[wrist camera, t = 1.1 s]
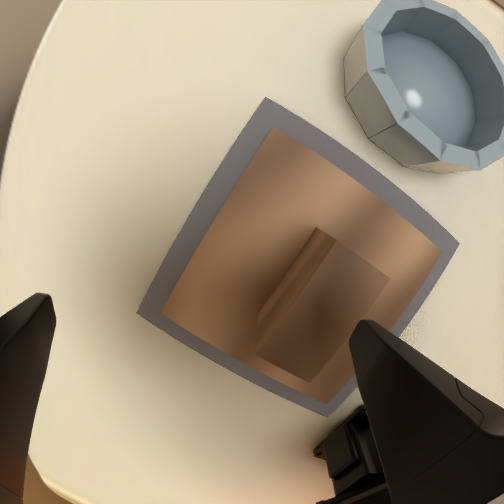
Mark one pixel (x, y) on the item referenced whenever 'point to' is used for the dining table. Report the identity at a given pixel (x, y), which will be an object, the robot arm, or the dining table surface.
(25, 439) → the robot arm
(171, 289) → the mat
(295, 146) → the walnut lid
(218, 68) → the dining table surface
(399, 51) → the bowl
